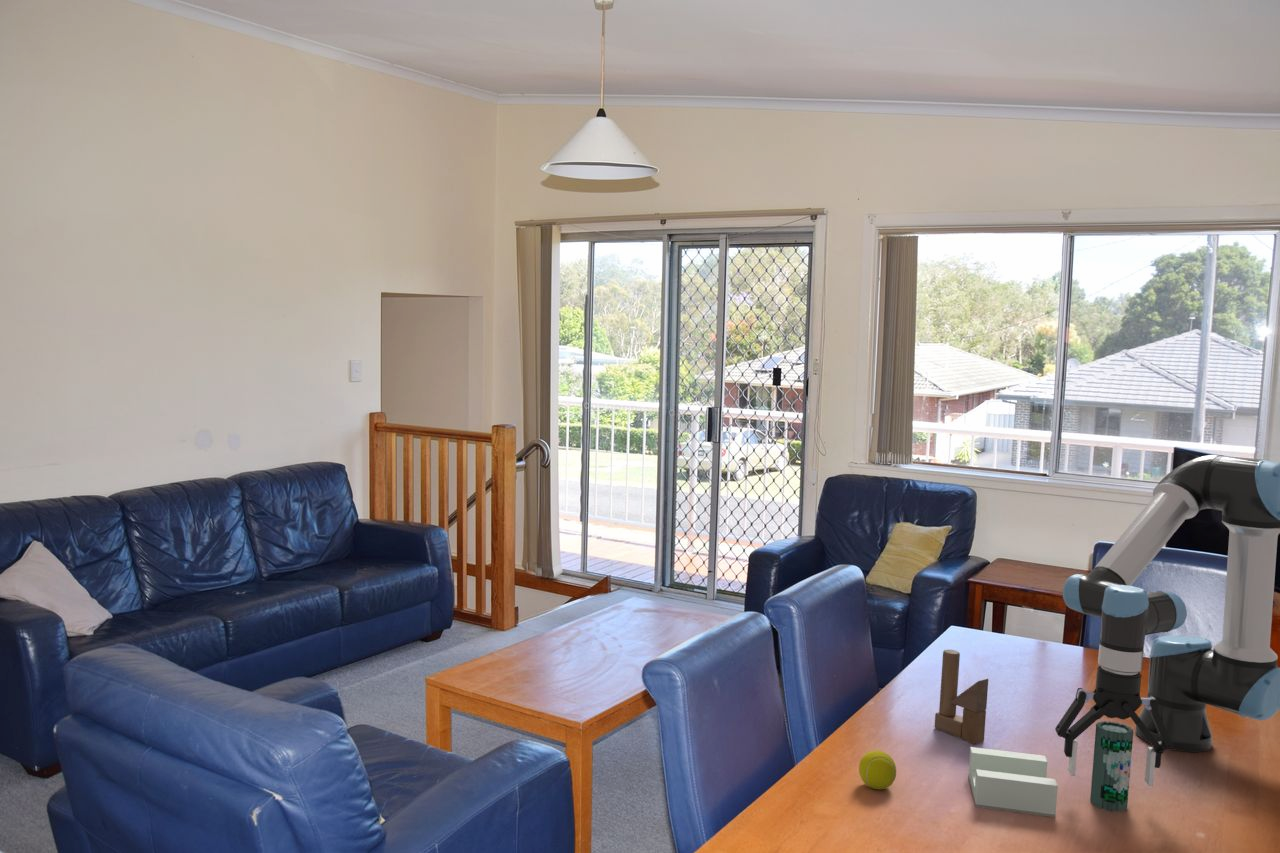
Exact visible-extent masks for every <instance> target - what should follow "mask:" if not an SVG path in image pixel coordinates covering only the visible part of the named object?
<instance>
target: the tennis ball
mask: <svg viewBox="0 0 1280 853" xmlns="http://www.w3.org/2000/svg"><path fill="white" fill-rule="evenodd" d="M858 772H859V776H860V779H861V780H862V782H863V783H864V784H865V785H866V786H867V787H869V788H871V789H874V790H885V789H888V788H889V787H891V786H892V785H893V783H894V781H896V780H895V779H896V777H897V766H896V763H895V761H894V759H893V758H892V756H890V755H889V754H888V753H887V752H884V751H882V750H871V751H868V752H866V753H865V754H864V755H863V756H862V757H861V758H860V761H859V764H858Z"/></svg>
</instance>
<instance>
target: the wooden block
mask: <svg viewBox="0 0 1280 853" xmlns="http://www.w3.org/2000/svg"><path fill="white" fill-rule="evenodd" d="M960 660H961V653H960V652H959V651H958V650H956V649H944V650H943V652H942V660H941V661H942V663H941V675H940V676H941V677H940V680H941V681H940V694H939V707H938V709H939V710H938V712H936V713H935V715H934V728H935V729H936V730H939V731H940V732H941V731H942V732H943V733H946V734H949V735H951V736H954V737H956V738H958V739H961V740H962V741H965V742H967V743H970V744H972V745H977V744H981V743H984V741H985V731H986V718H987V705H988V691H989V690H988V688H989V678H984V679H981V680H978V681H976V682H975V683H974V684H972V685H971V686H969V687H968V688H966V689H965V690H964V691H963V692H961V693H960V694H958V687H959V675H960V674H959V672H960V670H959V669H960ZM957 706H958V707H961V708H963V710H962V716H961V715H958V714H957Z"/></svg>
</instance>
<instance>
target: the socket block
mask: <svg viewBox="0 0 1280 853" xmlns="http://www.w3.org/2000/svg"><path fill="white" fill-rule="evenodd" d="M968 760H969V762H968V775H967V776H968V780H969V784H970V787H971V788H970V789H971V792H972V793H971V794H972V797H973V802H974V806H975V808H982V809H987V810H988V809H989V810H999V811H1003V812H1004V811H1005V812H1011V813H1021V814H1025V815H1026V814H1027V815H1033V816H1034V815H1036V816H1043V817H1049V818H1050V817H1051V818H1056V814H1057V801H1058V787H1059V785H1058V783H1057V781H1056V779H1055V778H1050V777H1049V778H1048V777H1047V774H1048V771H1047V770H1048V759H1047V758H1046V756H1045V755H1042V754H1032V753H1025V752H1024V753H1023V752H1016V751H1009V750H1008V751H1007V750H999V749H998V750H997V749H991V748H983V747H974V746H970V747H969V759H968Z"/></svg>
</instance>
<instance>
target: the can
mask: <svg viewBox="0 0 1280 853" xmlns="http://www.w3.org/2000/svg"><path fill="white" fill-rule="evenodd" d="M1133 743H1134V728H1132V727H1131V726H1129V725H1126V724H1124V723H1120V722H1117V721H1116V722H1114V721H1105V720H1104V721H1098V722H1097V723H1096V724H1095V735H1094V744H1093V746H1094V749H1093V761H1092V773H1091V786H1090V798H1089V800H1090V803H1091V804H1092V805H1093V806H1095V807H1097V808H1098V809H1100V810H1102V809H1103V810H1105V811H1108V812H1112V813H1113V812H1117V813H1118V812H1119V813H1120V812H1124V811H1126V810H1127V809H1128V800H1129V791H1130V790H1129V789H1130V779H1131V767H1132V765H1131V764H1132V752H1133Z"/></svg>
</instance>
